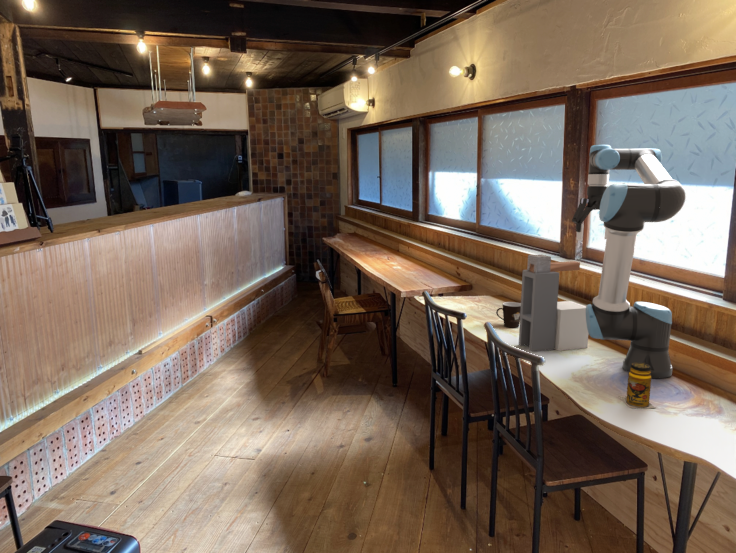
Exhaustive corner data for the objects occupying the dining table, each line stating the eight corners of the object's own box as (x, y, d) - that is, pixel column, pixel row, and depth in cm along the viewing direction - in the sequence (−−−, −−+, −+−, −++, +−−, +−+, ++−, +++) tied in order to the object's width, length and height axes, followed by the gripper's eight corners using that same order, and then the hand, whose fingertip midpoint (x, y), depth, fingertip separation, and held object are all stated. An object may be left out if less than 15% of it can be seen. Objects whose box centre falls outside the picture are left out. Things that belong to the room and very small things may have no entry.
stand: (554, 349, 209) (559, 272, 204) (531, 351, 207) (535, 274, 201) (540, 342, 218) (545, 268, 212) (518, 344, 215) (522, 270, 210)
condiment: (630, 408, 157) (634, 369, 155) (617, 396, 165) (621, 359, 163) (656, 408, 157) (660, 369, 155) (641, 396, 165) (645, 359, 163)
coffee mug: (519, 323, 246) (520, 302, 244) (523, 329, 237) (524, 306, 235) (493, 323, 247) (494, 301, 245) (495, 328, 238) (496, 306, 237)
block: (587, 347, 212) (590, 307, 209) (558, 350, 208) (561, 309, 205) (568, 338, 223) (570, 300, 220) (540, 341, 220) (542, 302, 217)
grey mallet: (581, 270, 208) (583, 255, 207) (536, 273, 203) (536, 257, 202) (572, 268, 214) (573, 253, 213) (527, 270, 209) (528, 255, 207)
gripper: (616, 185, 220) (612, 237, 224) (564, 185, 212) (561, 239, 216) (630, 185, 213) (626, 239, 217) (577, 185, 205) (573, 241, 209)
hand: (593, 239), depth 216 cm, fingers open, 13 cm apart
